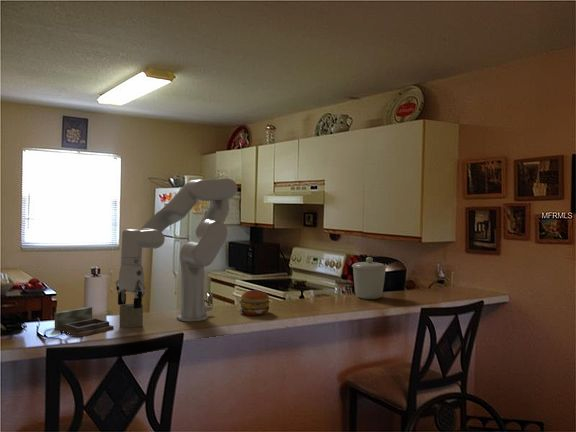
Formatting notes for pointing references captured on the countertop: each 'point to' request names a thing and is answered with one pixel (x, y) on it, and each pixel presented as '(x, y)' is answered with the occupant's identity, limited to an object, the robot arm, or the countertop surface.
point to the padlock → (130, 314)
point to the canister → (369, 279)
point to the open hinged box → (80, 322)
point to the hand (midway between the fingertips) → (129, 306)
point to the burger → (254, 303)
